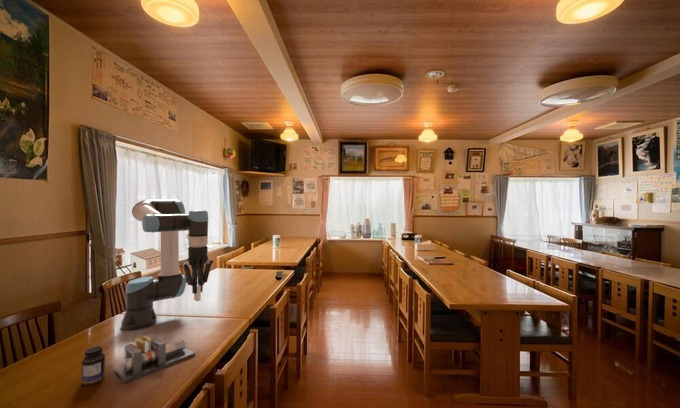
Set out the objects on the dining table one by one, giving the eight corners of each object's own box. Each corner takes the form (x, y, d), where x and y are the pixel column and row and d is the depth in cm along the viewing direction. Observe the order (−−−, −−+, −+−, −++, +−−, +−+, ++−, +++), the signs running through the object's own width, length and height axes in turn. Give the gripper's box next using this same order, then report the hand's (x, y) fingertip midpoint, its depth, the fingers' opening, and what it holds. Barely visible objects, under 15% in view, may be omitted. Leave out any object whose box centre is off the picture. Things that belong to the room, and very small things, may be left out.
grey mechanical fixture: (114, 371, 108) (114, 347, 108) (181, 346, 127) (181, 326, 127) (125, 383, 101) (125, 357, 101) (195, 355, 120) (195, 333, 120)
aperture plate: (134, 361, 113) (134, 337, 113) (143, 357, 115) (144, 334, 115) (141, 367, 109) (141, 342, 109) (151, 363, 111) (151, 339, 111)
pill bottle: (90, 376, 105) (91, 345, 105) (109, 375, 105) (109, 344, 106) (76, 386, 99) (77, 353, 99) (96, 385, 99) (96, 353, 99)
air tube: (127, 373, 104) (128, 361, 104) (123, 369, 107) (123, 357, 107) (185, 351, 120) (185, 340, 120) (180, 348, 123) (180, 338, 123)
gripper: (186, 248, 119) (186, 306, 119) (216, 245, 130) (216, 298, 130) (178, 246, 124) (177, 302, 124) (208, 243, 134) (207, 294, 134)
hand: (197, 300), depth 127 cm, fingers closed
